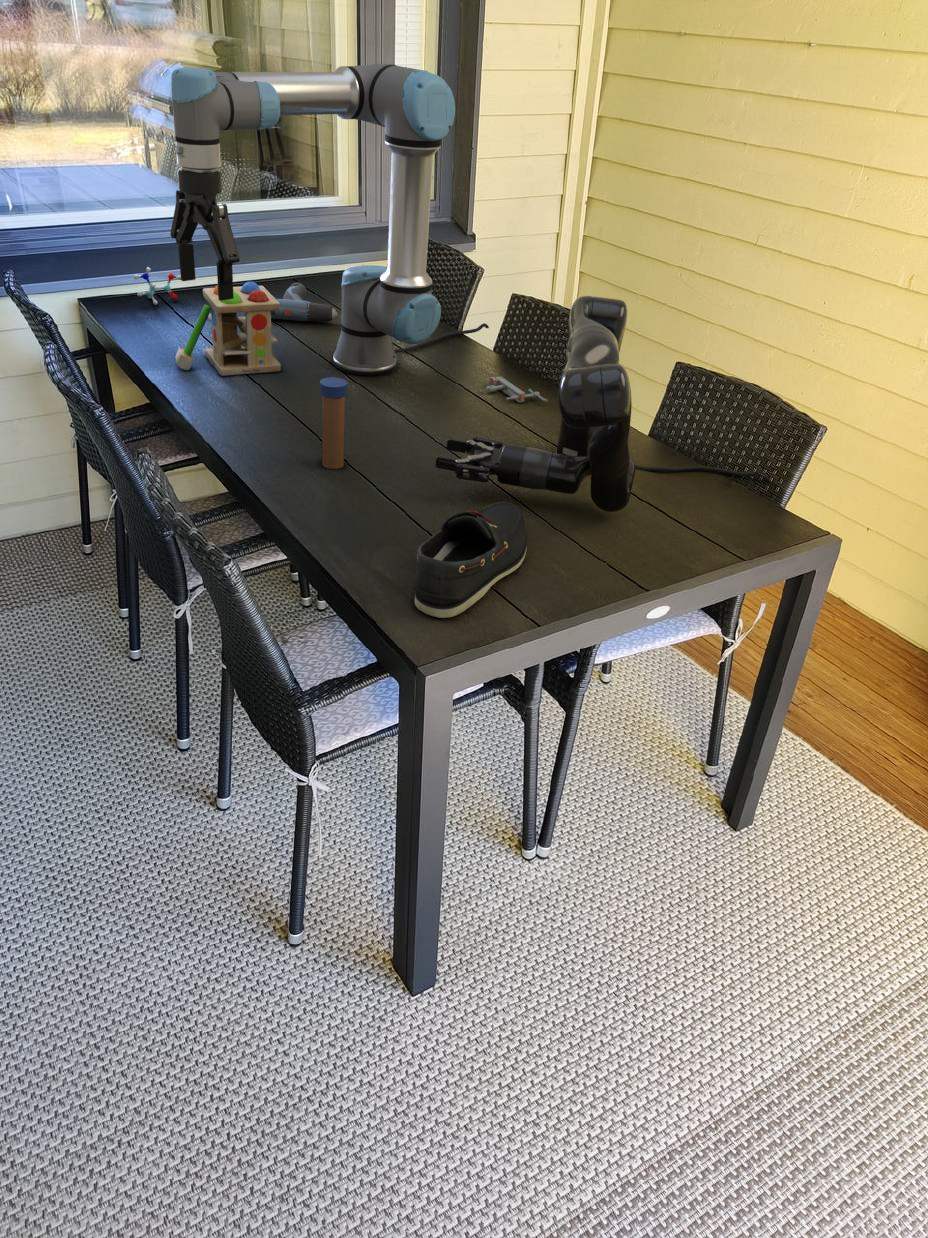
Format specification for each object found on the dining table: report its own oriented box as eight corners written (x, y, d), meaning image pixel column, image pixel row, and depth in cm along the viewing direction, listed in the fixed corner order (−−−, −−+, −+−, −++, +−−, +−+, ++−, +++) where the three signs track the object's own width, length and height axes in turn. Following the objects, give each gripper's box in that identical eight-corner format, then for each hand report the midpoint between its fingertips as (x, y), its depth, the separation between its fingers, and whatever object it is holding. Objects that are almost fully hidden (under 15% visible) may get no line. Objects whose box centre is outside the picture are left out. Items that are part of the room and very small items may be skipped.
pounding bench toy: (183, 379, 220) (176, 299, 210) (169, 357, 231) (162, 280, 221) (282, 371, 230) (280, 294, 220) (264, 350, 240) (262, 276, 230)
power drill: (344, 304, 276) (335, 327, 259) (277, 298, 275) (264, 321, 258) (344, 285, 273) (335, 306, 256) (277, 279, 272) (264, 300, 255)
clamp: (478, 378, 231) (514, 373, 235) (477, 387, 232) (513, 382, 236) (512, 401, 220) (549, 396, 225) (511, 411, 221) (548, 405, 226)
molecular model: (165, 296, 257) (152, 258, 255) (138, 309, 260) (124, 272, 259) (191, 298, 267) (178, 262, 266) (164, 311, 271) (151, 276, 270)
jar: (334, 457, 194) (335, 378, 185) (348, 465, 192) (350, 385, 183) (317, 463, 192) (317, 383, 182) (331, 470, 189) (332, 390, 180)
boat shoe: (553, 546, 173) (559, 493, 167) (451, 625, 149) (454, 565, 143) (491, 526, 178) (495, 473, 173) (382, 598, 154) (383, 540, 149)
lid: (335, 386, 187) (335, 375, 185) (352, 394, 184) (352, 383, 183) (314, 391, 183) (314, 380, 182) (332, 400, 181) (332, 389, 179)
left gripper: (145, 155, 179) (155, 274, 191) (217, 183, 164) (224, 310, 176) (182, 153, 183) (190, 270, 195) (256, 180, 169) (260, 304, 181)
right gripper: (534, 434, 187) (452, 420, 189) (521, 464, 175) (433, 448, 177) (529, 470, 191) (449, 455, 193) (516, 501, 179) (431, 486, 181)
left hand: (206, 289), depth 186 cm, fingers open, 13 cm apart
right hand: (441, 452), depth 185 cm, fingers open, 8 cm apart
